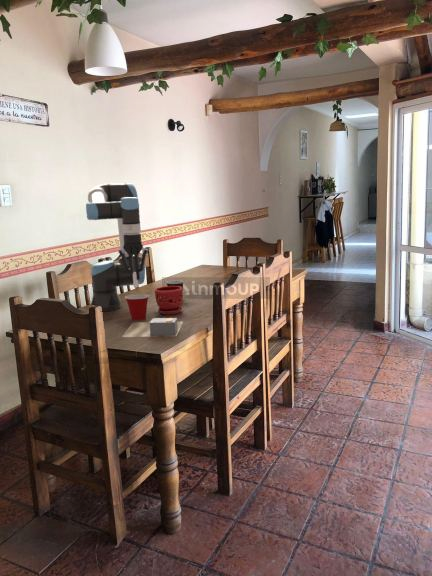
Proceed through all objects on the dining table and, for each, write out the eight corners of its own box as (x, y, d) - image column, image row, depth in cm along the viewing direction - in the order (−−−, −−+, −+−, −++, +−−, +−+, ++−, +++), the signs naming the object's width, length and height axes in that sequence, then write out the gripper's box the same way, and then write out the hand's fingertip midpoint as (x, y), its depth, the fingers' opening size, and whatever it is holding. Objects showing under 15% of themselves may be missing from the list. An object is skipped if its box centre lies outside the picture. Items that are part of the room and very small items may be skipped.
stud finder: (150, 336, 189) (149, 321, 188) (153, 331, 195) (152, 317, 194) (175, 335, 189) (174, 321, 187) (177, 331, 195) (176, 317, 193)
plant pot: (188, 310, 231) (187, 286, 228) (173, 317, 220) (171, 291, 217) (167, 307, 238) (165, 284, 235) (150, 314, 227) (148, 289, 224)
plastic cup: (152, 317, 221) (150, 292, 219) (149, 324, 211) (147, 297, 208) (128, 318, 221) (126, 293, 219) (125, 325, 211) (122, 298, 208)
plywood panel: (121, 340, 190) (121, 337, 189) (133, 325, 209) (132, 322, 209) (176, 339, 188) (176, 336, 188) (183, 324, 208) (183, 321, 208)
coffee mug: (181, 302, 246) (180, 283, 244) (165, 302, 248) (164, 283, 245) (187, 297, 257) (186, 279, 255) (172, 297, 259) (171, 279, 256)
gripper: (114, 235, 204) (119, 289, 209) (145, 234, 203) (148, 288, 208) (119, 233, 211) (123, 285, 216) (148, 232, 210) (152, 284, 215)
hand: (136, 286), depth 212 cm, fingers closed
